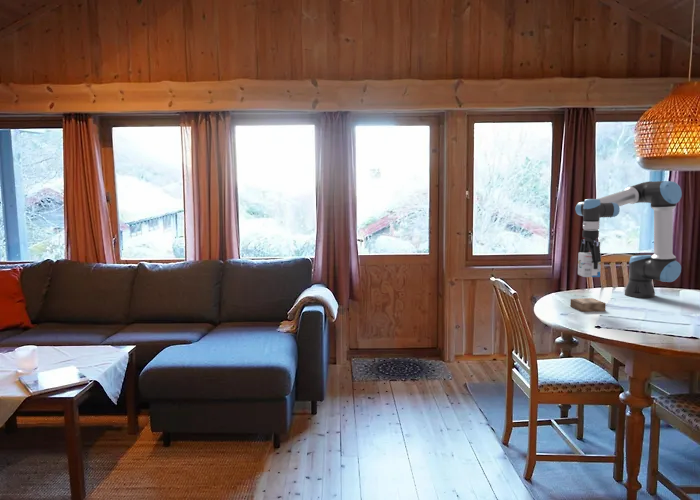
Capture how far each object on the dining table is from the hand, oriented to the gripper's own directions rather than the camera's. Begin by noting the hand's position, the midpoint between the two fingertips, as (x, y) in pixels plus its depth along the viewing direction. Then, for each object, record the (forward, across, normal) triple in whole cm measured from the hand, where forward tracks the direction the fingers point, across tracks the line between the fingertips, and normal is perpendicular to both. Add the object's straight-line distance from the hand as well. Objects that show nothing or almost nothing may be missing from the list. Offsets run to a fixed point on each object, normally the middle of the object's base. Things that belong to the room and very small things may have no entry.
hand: (588, 273), depth 263 cm
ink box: (+1, 0, 0) cm, 1 cm away
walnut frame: (+18, 0, 0) cm, 18 cm away
